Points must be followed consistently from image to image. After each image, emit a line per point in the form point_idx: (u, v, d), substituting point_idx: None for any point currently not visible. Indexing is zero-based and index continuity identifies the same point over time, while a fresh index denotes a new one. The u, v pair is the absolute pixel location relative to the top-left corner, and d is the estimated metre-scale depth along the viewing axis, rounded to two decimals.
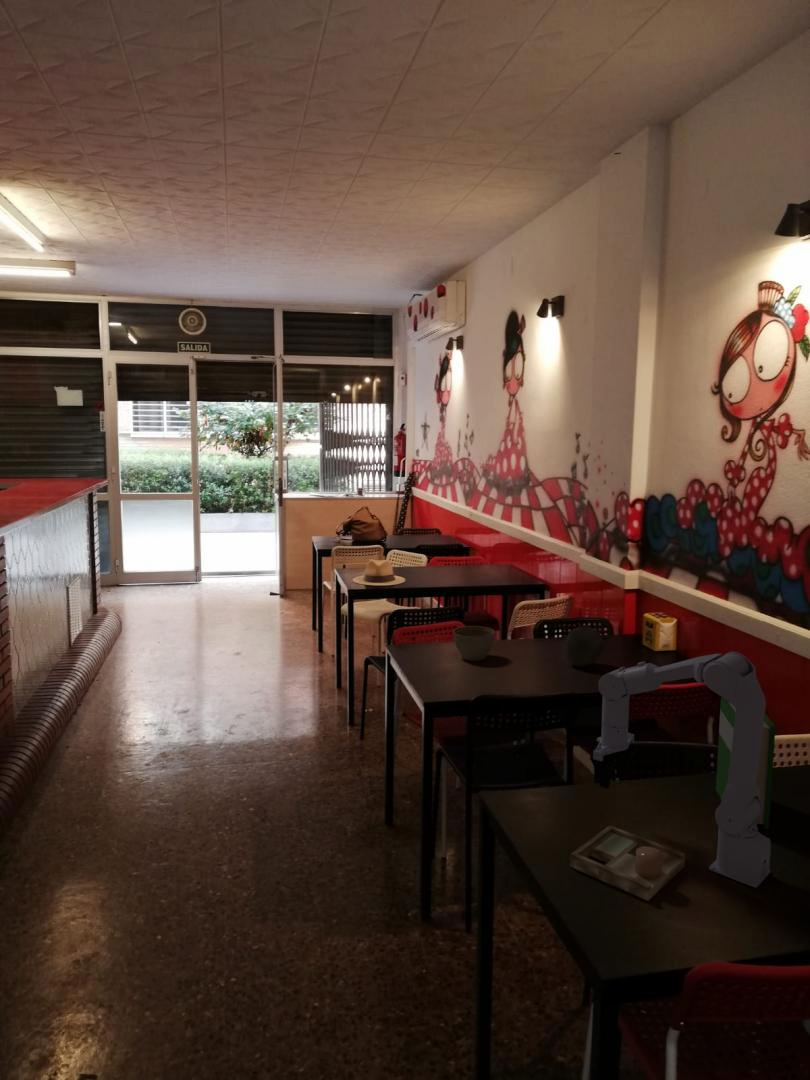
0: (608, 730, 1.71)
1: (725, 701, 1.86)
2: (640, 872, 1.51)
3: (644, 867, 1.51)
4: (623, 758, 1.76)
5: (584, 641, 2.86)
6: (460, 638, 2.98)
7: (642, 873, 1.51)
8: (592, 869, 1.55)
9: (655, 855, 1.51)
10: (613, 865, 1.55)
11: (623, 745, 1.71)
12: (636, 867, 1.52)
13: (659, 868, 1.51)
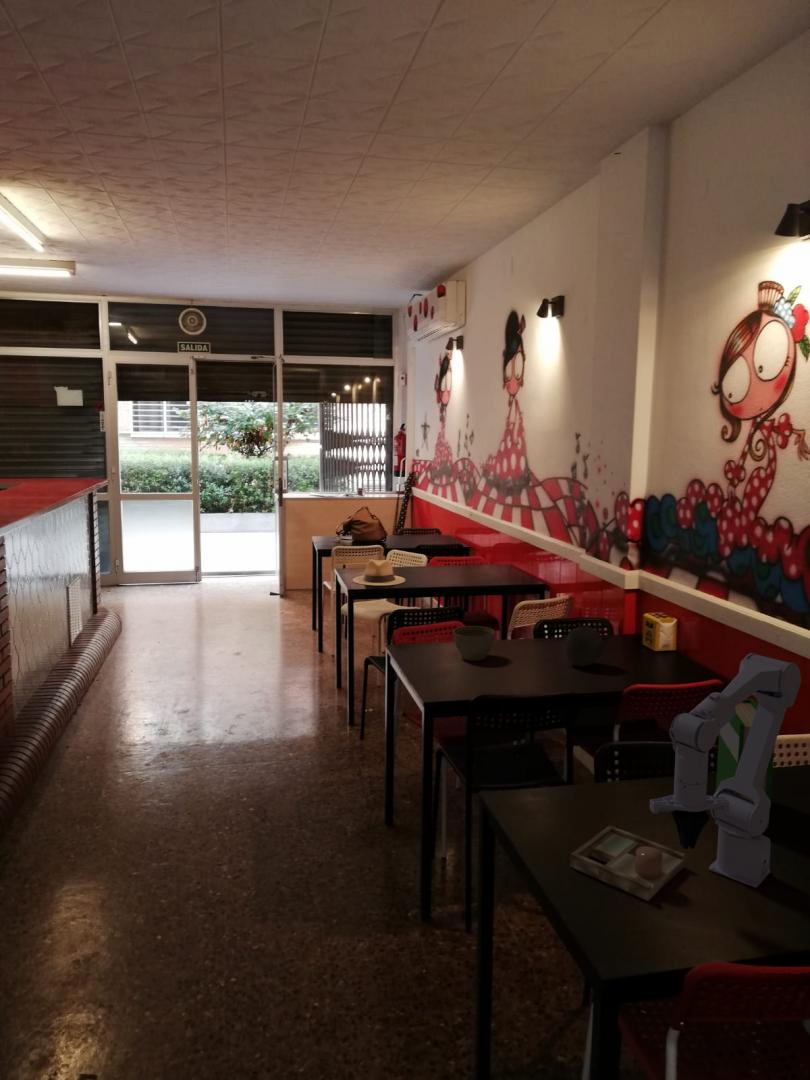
0: (675, 782, 1.45)
1: None
2: (640, 872, 1.51)
3: (644, 867, 1.51)
4: (691, 825, 1.46)
5: (584, 641, 2.86)
6: (460, 638, 2.98)
7: (642, 873, 1.51)
8: (592, 869, 1.55)
9: (655, 855, 1.51)
10: (613, 865, 1.55)
11: (691, 805, 1.43)
12: (636, 867, 1.52)
13: (659, 868, 1.51)
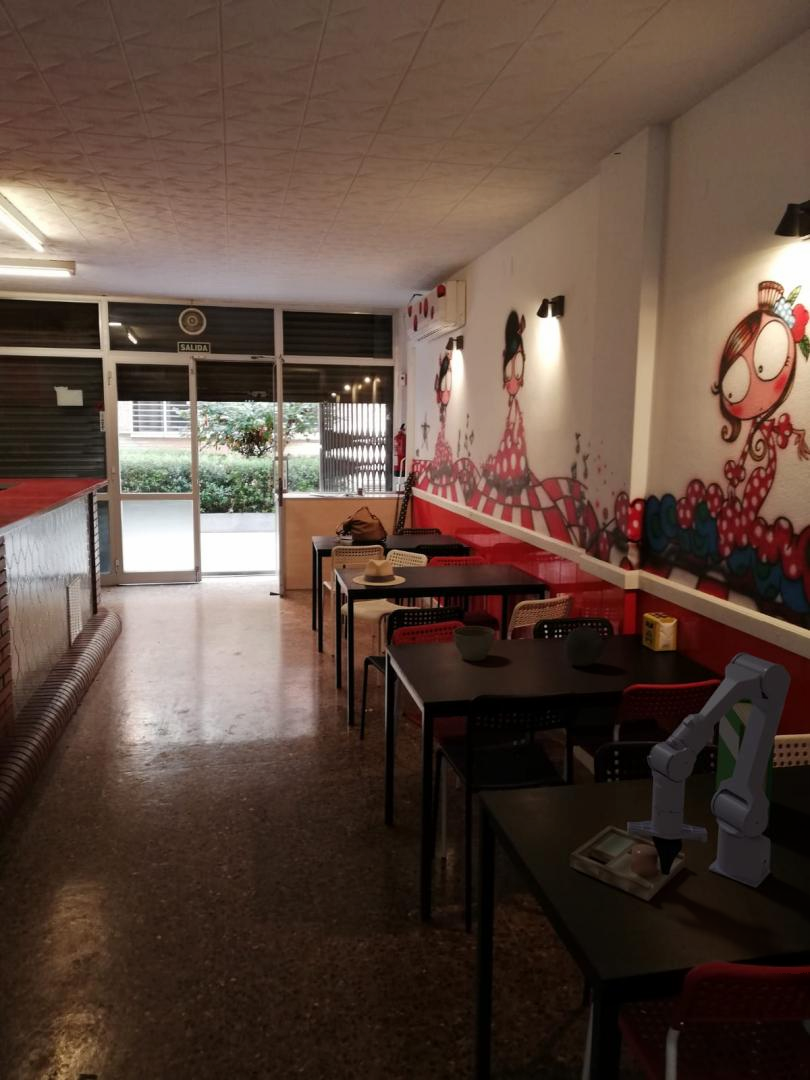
0: (652, 808, 1.49)
1: None
2: (635, 869, 1.52)
3: (639, 864, 1.51)
4: (666, 852, 1.49)
5: (584, 641, 2.86)
6: (460, 638, 2.98)
7: (637, 870, 1.52)
8: (592, 869, 1.55)
9: (651, 853, 1.52)
10: (613, 865, 1.55)
11: (664, 832, 1.46)
12: (632, 864, 1.53)
13: (654, 866, 1.51)
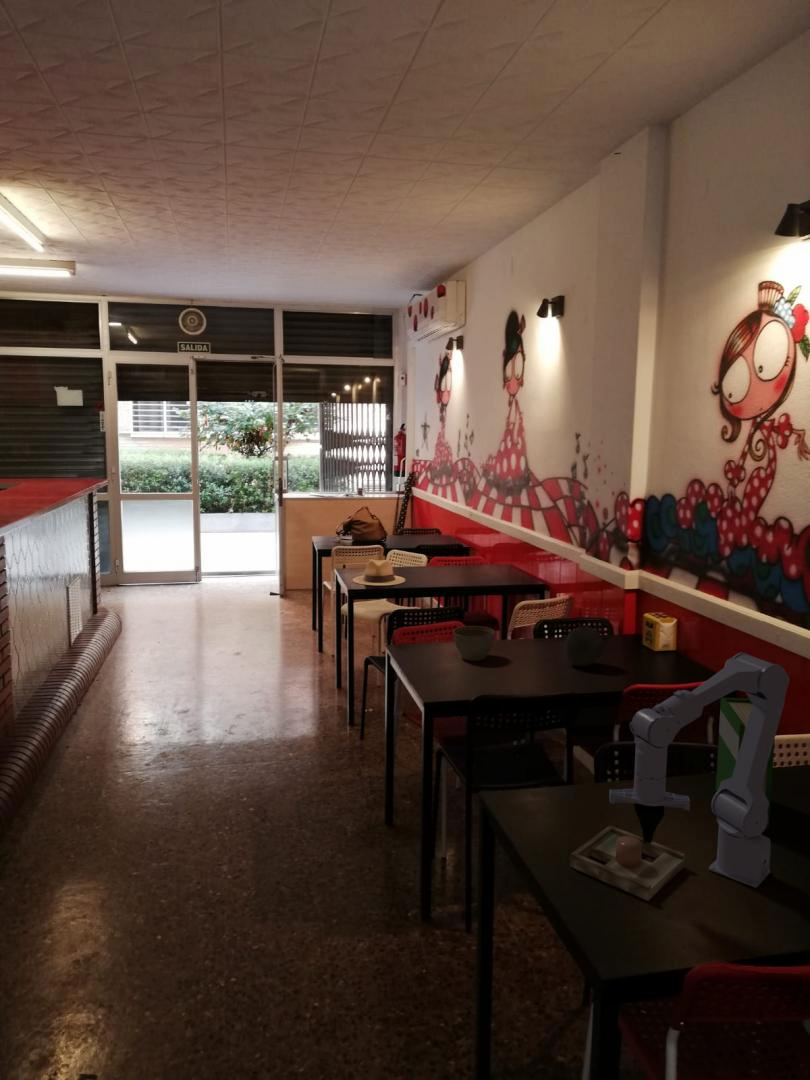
0: (634, 775, 1.47)
1: (725, 701, 1.86)
2: (618, 860, 1.56)
3: (621, 855, 1.55)
4: (649, 820, 1.48)
5: (584, 641, 2.86)
6: (460, 638, 2.98)
7: (620, 861, 1.55)
8: (592, 869, 1.55)
9: (634, 845, 1.55)
10: (613, 865, 1.55)
11: (646, 799, 1.45)
12: (616, 855, 1.57)
13: (637, 857, 1.54)
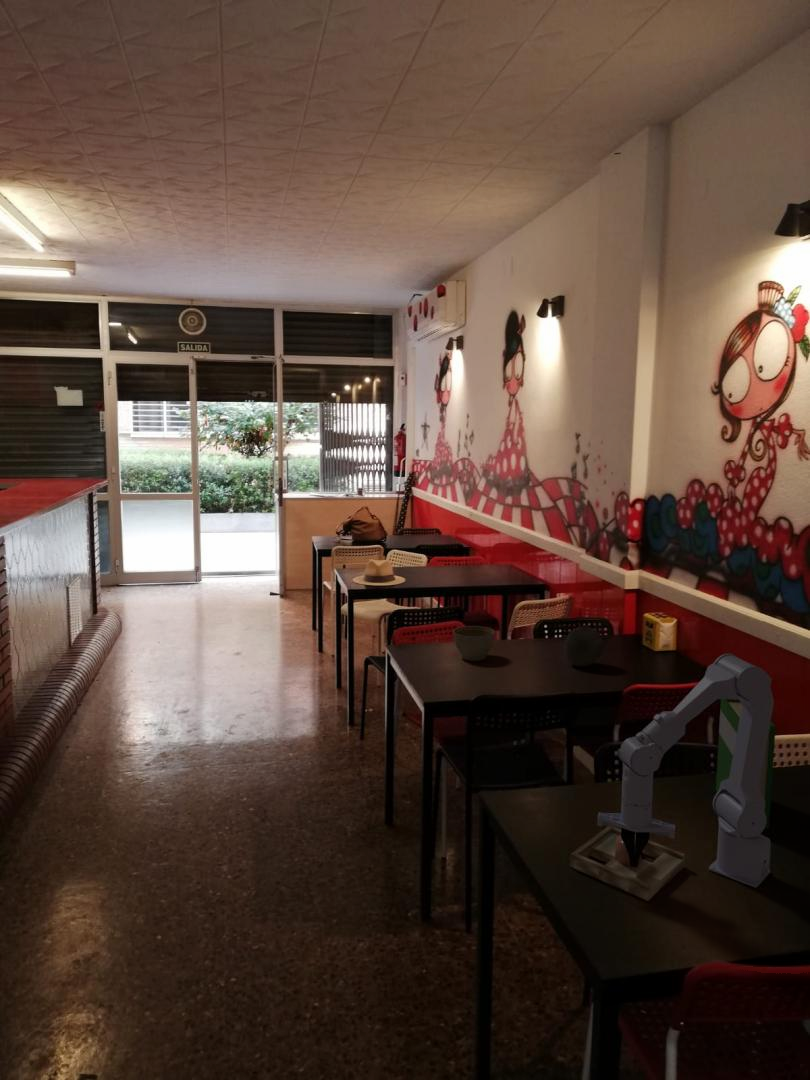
0: None
1: (725, 701, 1.86)
2: (618, 858, 1.56)
3: (621, 853, 1.56)
4: None
5: (584, 641, 2.86)
6: (460, 638, 2.98)
7: (619, 859, 1.56)
8: (592, 869, 1.55)
9: None
10: (613, 865, 1.55)
11: (630, 825, 1.49)
12: (615, 853, 1.58)
13: None
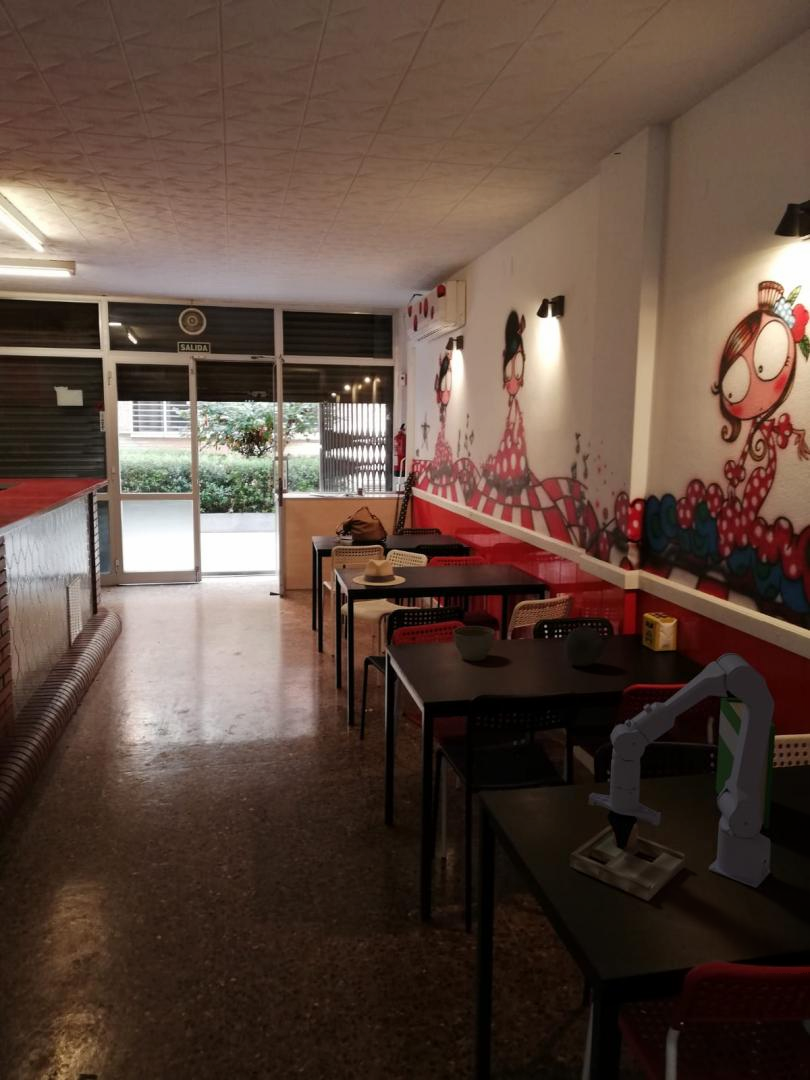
0: None
1: (725, 701, 1.86)
2: (613, 840, 1.63)
3: None
4: None
5: (584, 641, 2.86)
6: (460, 638, 2.98)
7: (614, 841, 1.63)
8: (592, 869, 1.55)
9: None
10: (613, 865, 1.55)
11: (614, 806, 1.57)
12: None
13: (629, 840, 1.61)
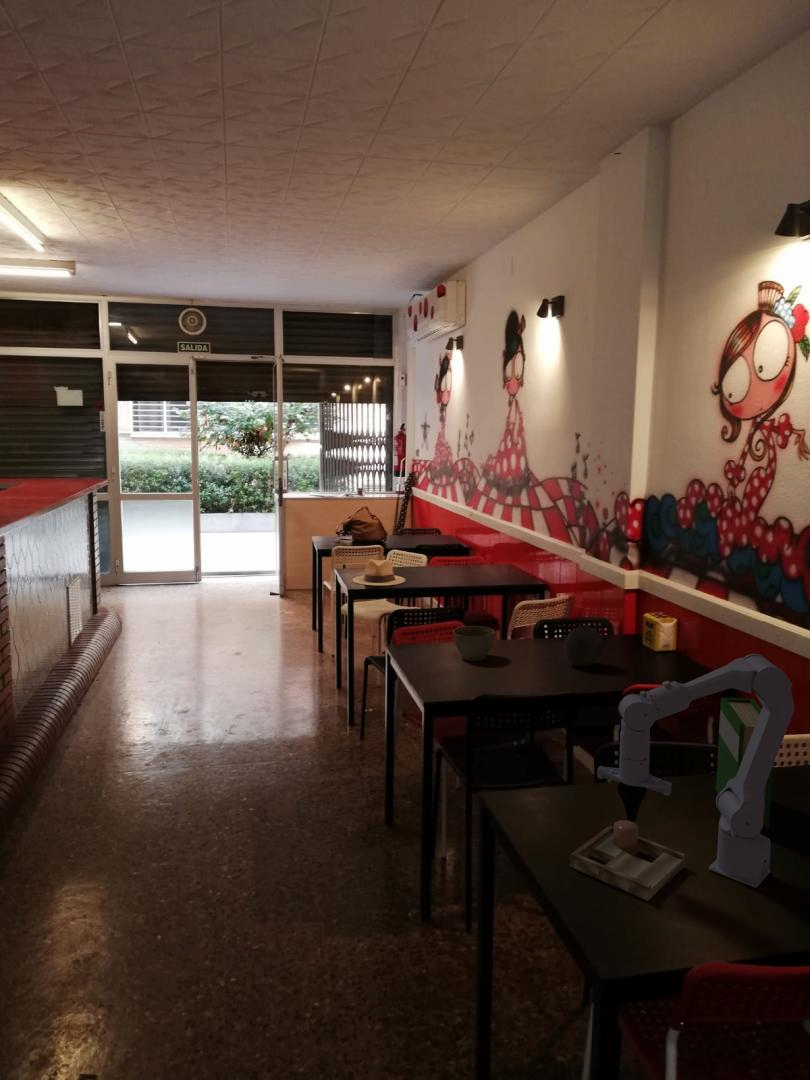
0: None
1: (725, 701, 1.86)
2: (614, 841, 1.63)
3: (616, 836, 1.62)
4: None
5: (584, 641, 2.86)
6: (460, 638, 2.98)
7: (615, 842, 1.62)
8: (592, 869, 1.55)
9: (630, 829, 1.61)
10: (613, 865, 1.55)
11: (625, 778, 1.54)
12: None
13: (630, 841, 1.61)
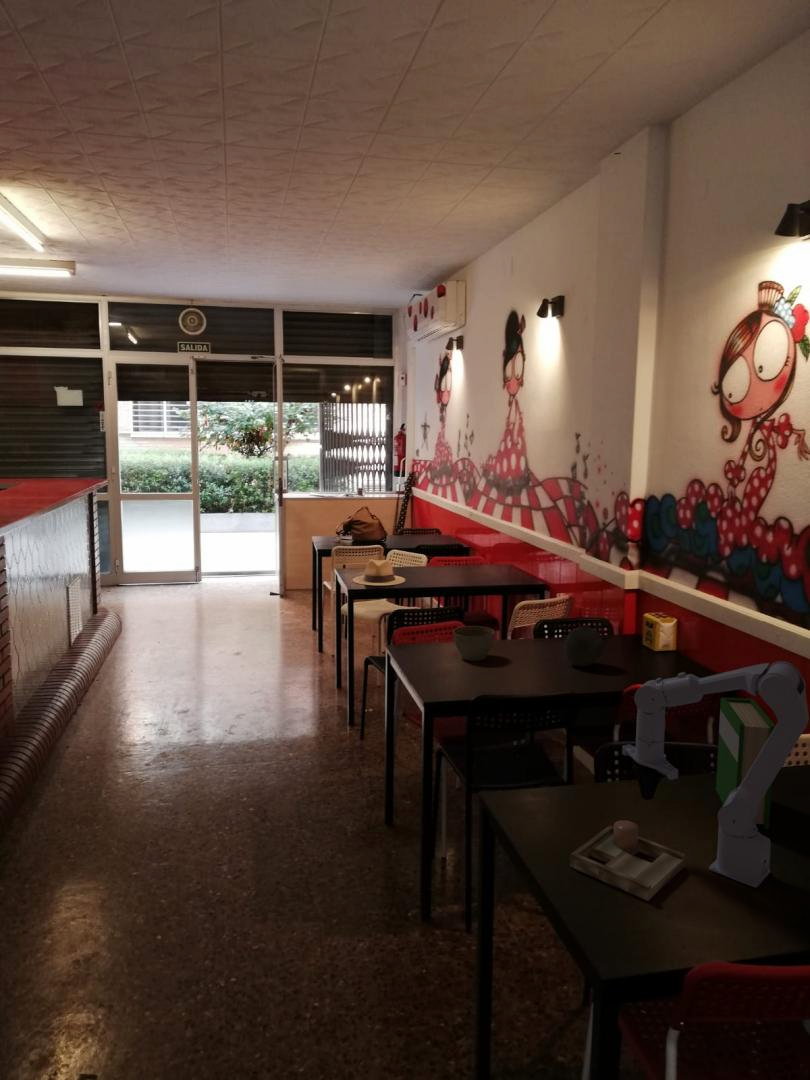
0: None
1: (725, 701, 1.86)
2: (614, 841, 1.63)
3: (616, 836, 1.62)
4: None
5: (584, 641, 2.86)
6: (460, 638, 2.98)
7: (615, 842, 1.62)
8: (592, 869, 1.55)
9: (630, 829, 1.61)
10: (613, 865, 1.55)
11: (636, 756, 1.64)
12: None
13: (630, 841, 1.61)
